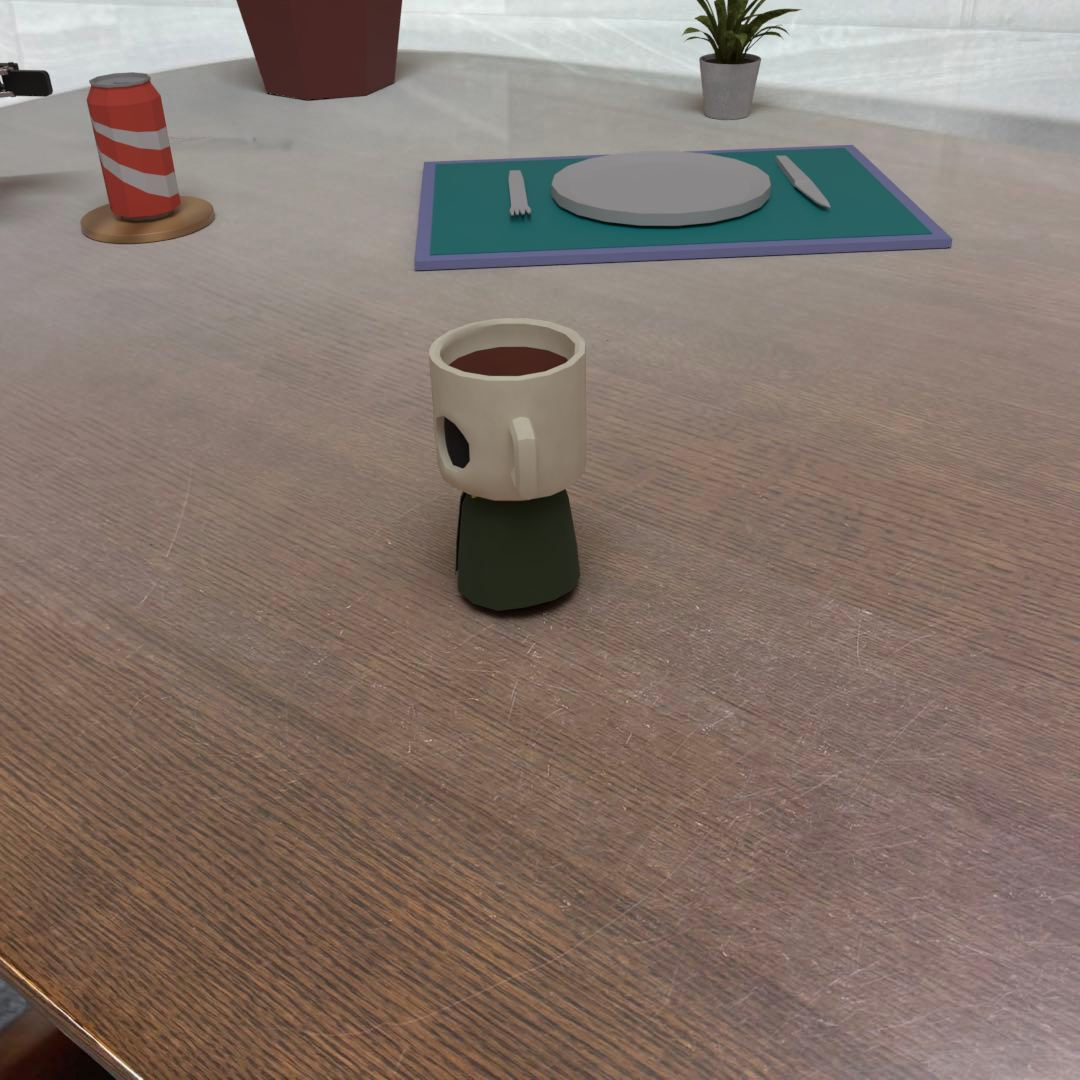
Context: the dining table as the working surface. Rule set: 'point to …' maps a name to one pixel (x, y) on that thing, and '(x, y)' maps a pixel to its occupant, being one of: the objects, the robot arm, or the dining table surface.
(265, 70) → the bucket
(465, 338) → the character mug
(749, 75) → the house plant
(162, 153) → the beverage can
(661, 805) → the dining table surface
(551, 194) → the place mat
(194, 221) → the cork trivet
